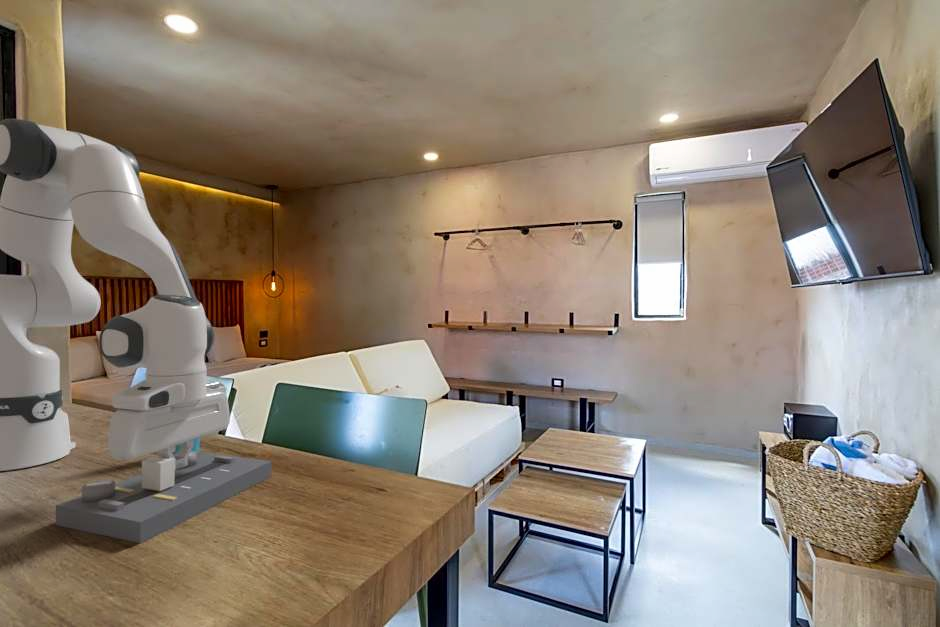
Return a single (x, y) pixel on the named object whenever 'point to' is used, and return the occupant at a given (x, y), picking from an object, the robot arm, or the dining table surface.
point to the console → (160, 497)
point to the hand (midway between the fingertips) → (176, 468)
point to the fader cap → (158, 473)
